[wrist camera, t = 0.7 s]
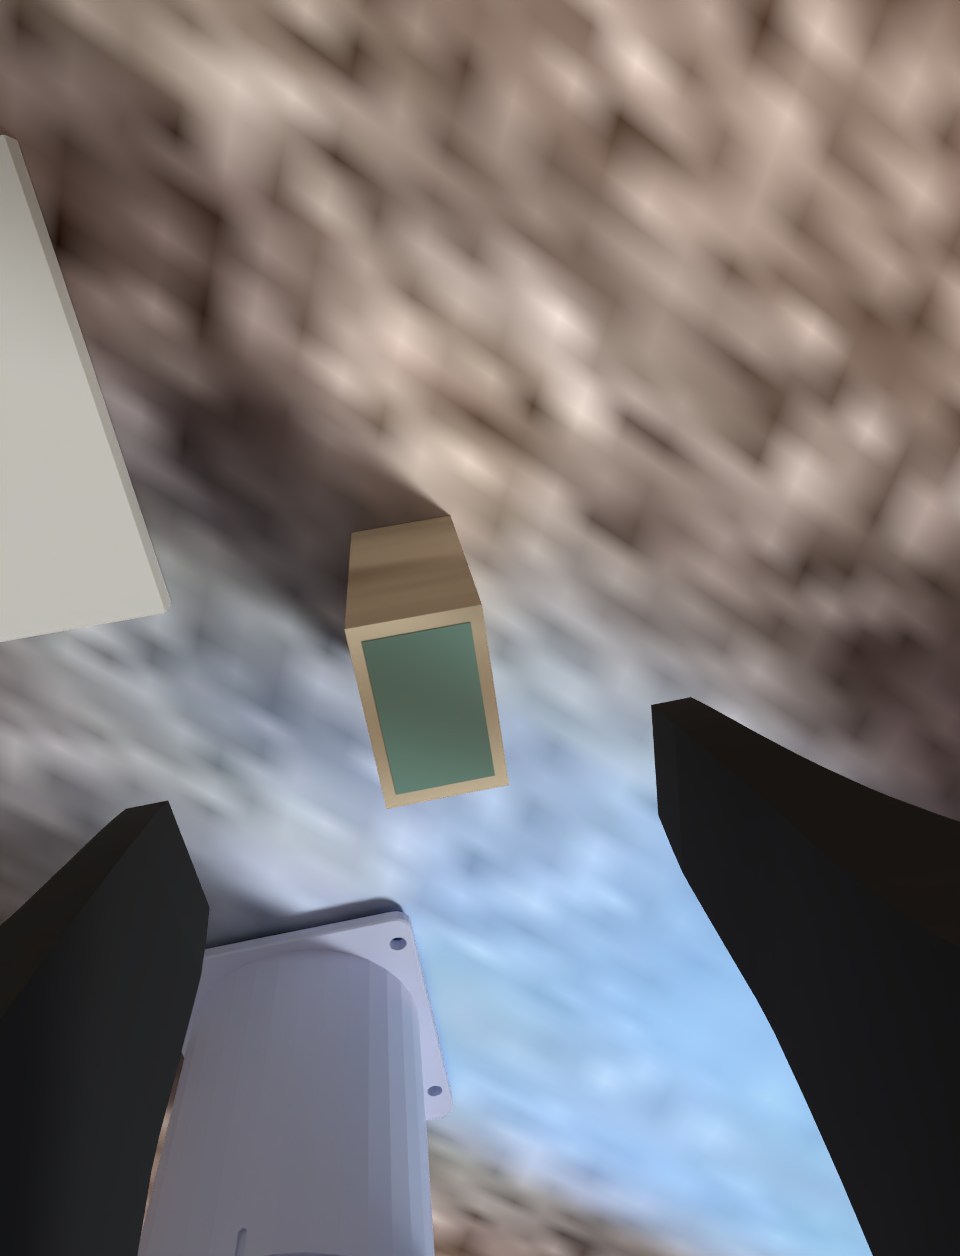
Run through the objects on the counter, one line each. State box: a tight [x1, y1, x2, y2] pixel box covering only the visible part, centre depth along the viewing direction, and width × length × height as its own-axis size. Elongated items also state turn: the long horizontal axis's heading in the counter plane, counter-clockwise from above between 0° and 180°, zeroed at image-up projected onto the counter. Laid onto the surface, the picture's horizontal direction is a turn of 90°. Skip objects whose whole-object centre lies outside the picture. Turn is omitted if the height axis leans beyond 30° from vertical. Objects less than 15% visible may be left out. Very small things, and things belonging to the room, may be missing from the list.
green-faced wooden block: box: [344, 516, 509, 809], centre depth 17 cm, size 4×2×6 cm, turn 8°
